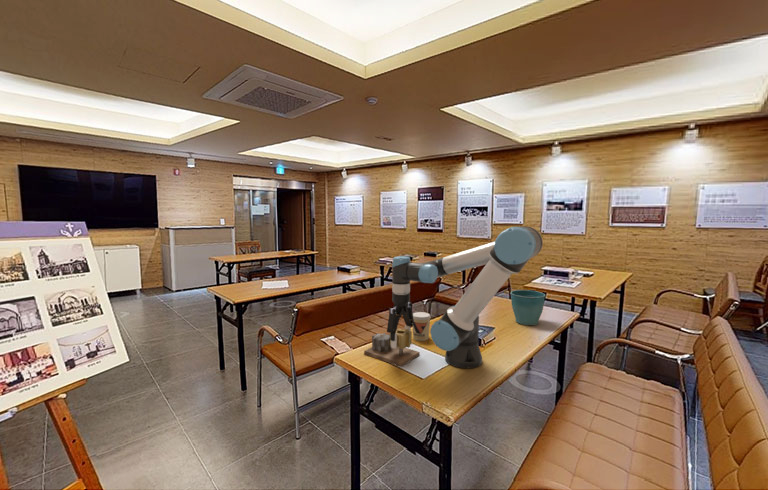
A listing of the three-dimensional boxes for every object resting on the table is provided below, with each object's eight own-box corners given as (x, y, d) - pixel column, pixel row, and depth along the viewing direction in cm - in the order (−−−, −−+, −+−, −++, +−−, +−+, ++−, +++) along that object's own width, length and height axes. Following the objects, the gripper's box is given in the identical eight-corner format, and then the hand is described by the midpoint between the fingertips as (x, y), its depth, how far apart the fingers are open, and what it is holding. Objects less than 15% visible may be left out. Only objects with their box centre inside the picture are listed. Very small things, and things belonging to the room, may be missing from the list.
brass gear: (415, 343, 142) (415, 331, 142) (403, 350, 135) (403, 337, 135) (398, 338, 148) (398, 326, 148) (385, 345, 141) (385, 332, 140)
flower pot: (505, 323, 186) (506, 294, 185) (513, 315, 201) (514, 288, 199) (540, 330, 176) (542, 298, 174) (546, 321, 191) (547, 292, 189)
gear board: (419, 355, 144) (419, 337, 144) (401, 366, 134) (401, 347, 133) (383, 344, 157) (383, 328, 156) (364, 354, 146) (364, 336, 145)
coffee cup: (409, 339, 162) (409, 316, 161) (414, 333, 171) (414, 311, 170) (427, 342, 159) (427, 318, 158) (432, 336, 168) (432, 313, 167)
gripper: (408, 287, 150) (407, 334, 153) (377, 296, 133) (377, 349, 135) (422, 289, 146) (421, 338, 148) (392, 299, 129) (392, 354, 131)
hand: (400, 343), depth 142 cm, fingers closed on brass gear, 9 cm apart
